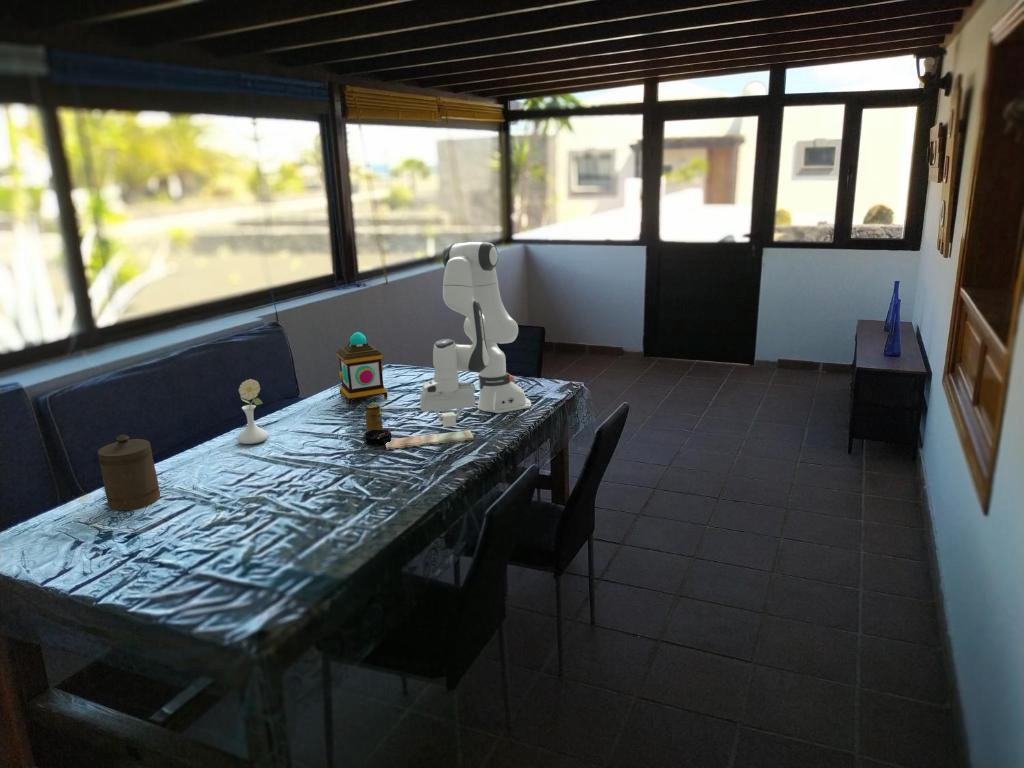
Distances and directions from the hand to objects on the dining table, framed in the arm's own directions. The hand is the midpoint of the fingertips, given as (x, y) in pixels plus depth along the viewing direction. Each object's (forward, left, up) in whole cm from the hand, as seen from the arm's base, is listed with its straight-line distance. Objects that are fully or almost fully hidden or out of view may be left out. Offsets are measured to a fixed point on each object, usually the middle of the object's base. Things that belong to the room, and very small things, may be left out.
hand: (448, 420), depth 275 cm
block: (0, 0, -2) cm, 2 cm away
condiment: (+27, -12, -8) cm, 30 cm away
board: (+8, 0, -7) cm, 11 cm away
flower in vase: (+72, -21, -8) cm, 75 cm away
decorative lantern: (+30, -64, -8) cm, 71 cm away
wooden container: (+104, +23, -8) cm, 106 cm away
